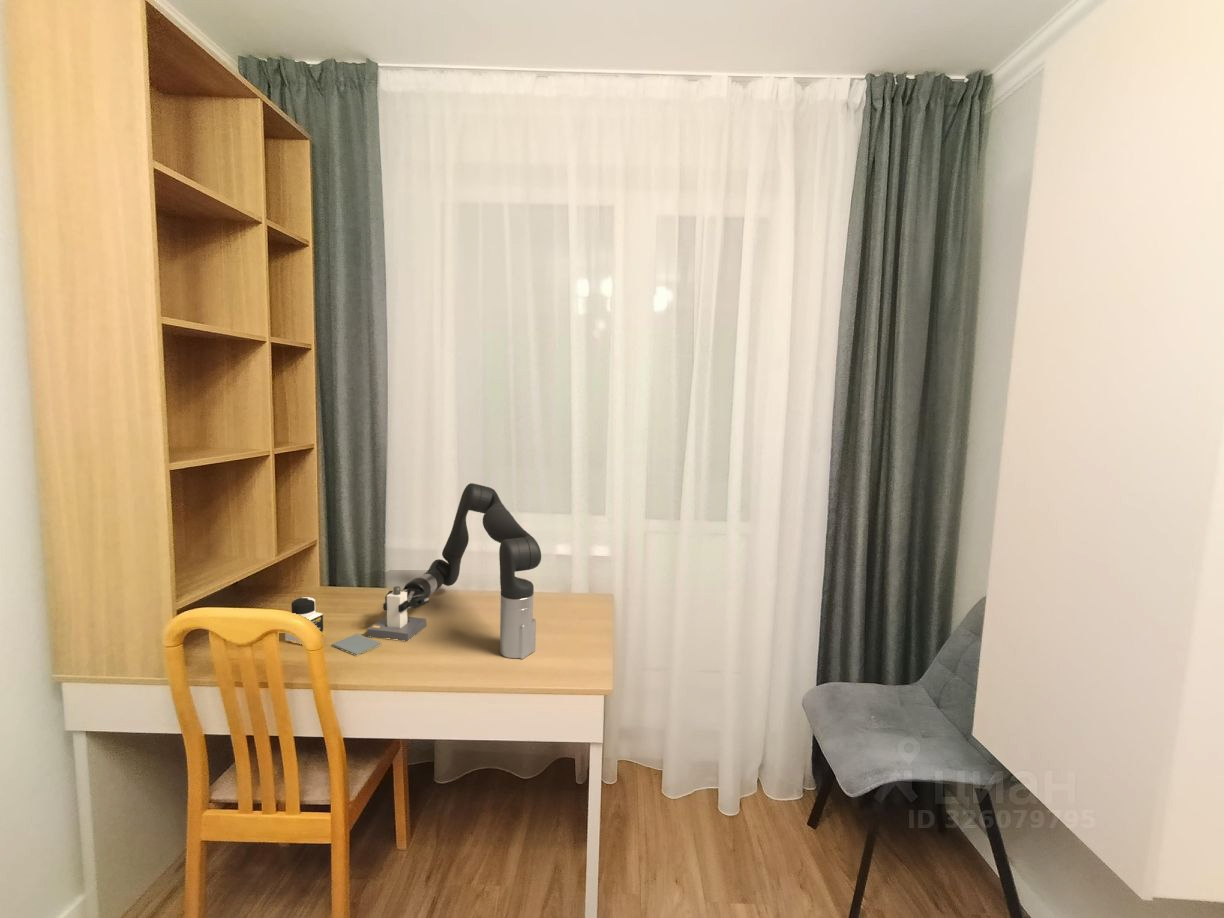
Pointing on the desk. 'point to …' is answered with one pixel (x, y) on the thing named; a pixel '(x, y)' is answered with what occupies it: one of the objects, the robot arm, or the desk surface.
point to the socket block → (397, 629)
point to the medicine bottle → (306, 613)
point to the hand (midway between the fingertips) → (392, 608)
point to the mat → (356, 644)
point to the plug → (396, 608)
